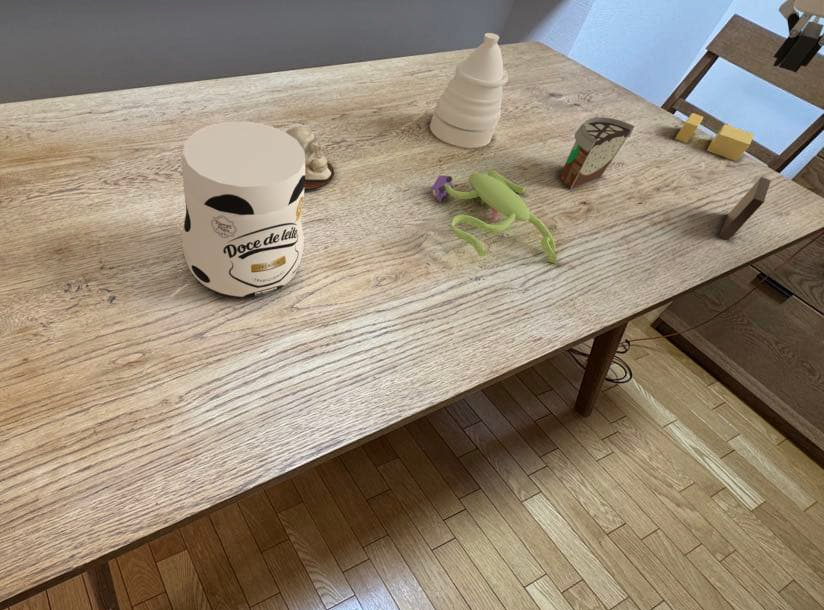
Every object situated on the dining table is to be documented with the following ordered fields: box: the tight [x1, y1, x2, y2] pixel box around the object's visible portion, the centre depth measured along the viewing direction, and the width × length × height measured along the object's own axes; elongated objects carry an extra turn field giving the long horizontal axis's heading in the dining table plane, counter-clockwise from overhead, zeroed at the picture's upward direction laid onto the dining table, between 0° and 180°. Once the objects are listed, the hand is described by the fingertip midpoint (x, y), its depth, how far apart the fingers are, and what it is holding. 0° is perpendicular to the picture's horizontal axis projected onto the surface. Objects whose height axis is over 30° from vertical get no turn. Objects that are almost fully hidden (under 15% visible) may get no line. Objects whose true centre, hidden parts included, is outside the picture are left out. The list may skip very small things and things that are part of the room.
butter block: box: [706, 123, 755, 162], centre depth 110 cm, size 6×6×4 cm
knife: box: [778, 16, 824, 72], centre depth 86 cm, size 17×2×4 cm, turn 142°
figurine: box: [431, 169, 558, 265], centre depth 87 cm, size 18×27×6 cm
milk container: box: [181, 121, 305, 299], centre depth 70 cm, size 17×17×18 cm
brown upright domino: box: [718, 176, 772, 241], centre depth 91 cm, size 2×9×8 cm, turn 143°
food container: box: [559, 116, 636, 190], centre depth 96 cm, size 12×6×10 cm, turn 123°
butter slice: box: [674, 112, 704, 144], centre depth 112 cm, size 2×6×4 cm, turn 143°
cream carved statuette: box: [285, 126, 335, 190], centre depth 92 cm, size 12×10×10 cm
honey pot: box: [429, 32, 509, 149], centre depth 100 cm, size 13×13×18 cm
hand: (786, 65), depth 86 cm, fingers closed on knife, 2 cm apart
